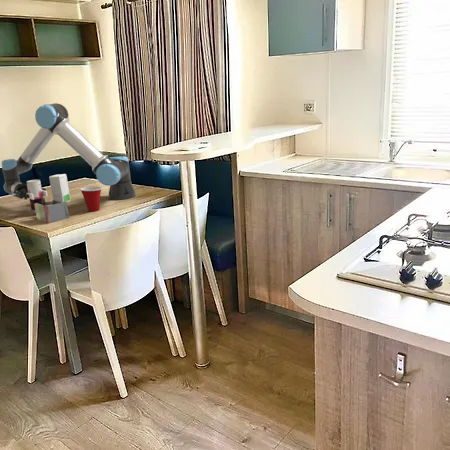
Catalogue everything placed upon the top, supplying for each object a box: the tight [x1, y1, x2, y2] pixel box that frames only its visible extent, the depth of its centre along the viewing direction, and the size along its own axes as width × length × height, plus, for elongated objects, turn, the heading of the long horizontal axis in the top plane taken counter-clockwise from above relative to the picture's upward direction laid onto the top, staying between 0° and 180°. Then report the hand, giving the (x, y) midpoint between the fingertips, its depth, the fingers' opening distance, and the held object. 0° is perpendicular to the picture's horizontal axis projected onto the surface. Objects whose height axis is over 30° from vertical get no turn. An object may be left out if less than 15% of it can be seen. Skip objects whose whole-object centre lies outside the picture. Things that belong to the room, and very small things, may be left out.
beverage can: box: [26, 179, 44, 212], centre depth 243 cm, size 7×7×15 cm
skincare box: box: [48, 173, 72, 203], centre depth 266 cm, size 8×7×16 cm
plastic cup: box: [80, 186, 103, 213], centre depth 245 cm, size 11×11×12 cm
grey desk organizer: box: [34, 198, 70, 224], centre depth 235 cm, size 12×11×8 cm
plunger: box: [41, 197, 51, 206], centre depth 236 cm, size 10×6×10 cm, turn 45°
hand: (39, 195), depth 240 cm, fingers closed on beverage can, 6 cm apart
